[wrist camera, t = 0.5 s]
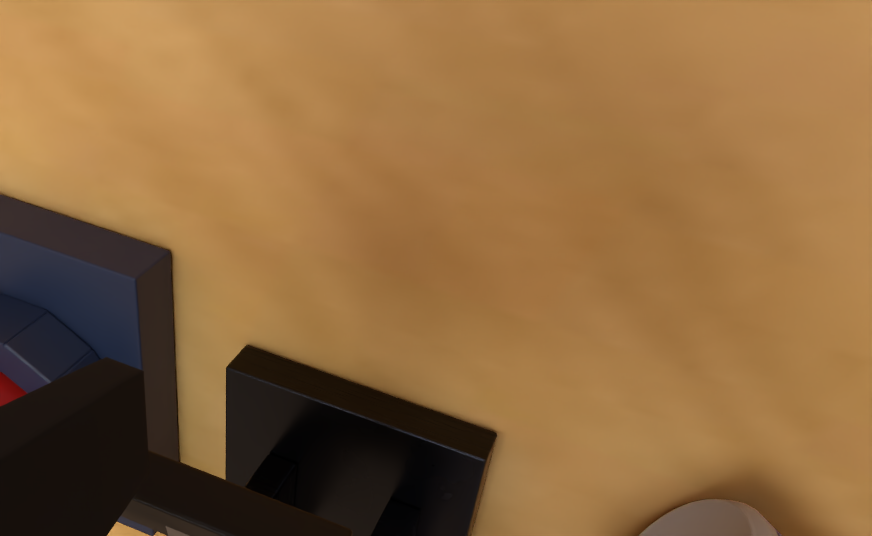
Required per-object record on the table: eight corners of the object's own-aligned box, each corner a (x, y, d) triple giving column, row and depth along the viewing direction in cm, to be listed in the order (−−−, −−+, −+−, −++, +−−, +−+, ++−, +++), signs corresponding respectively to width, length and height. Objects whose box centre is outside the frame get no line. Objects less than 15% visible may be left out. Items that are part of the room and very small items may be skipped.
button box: (181, 502, 30) (120, 578, 27) (-1, 429, 32) (-77, 493, 29) (171, 250, 24) (91, 313, 21) (-54, 175, 26) (-156, 225, 23)
